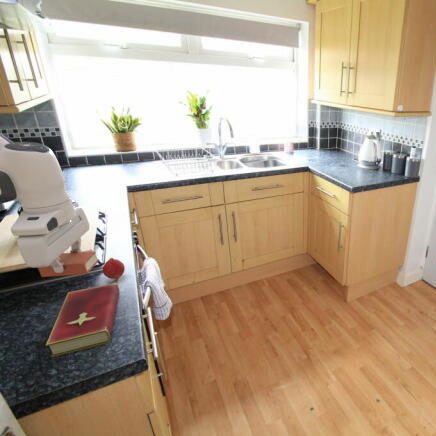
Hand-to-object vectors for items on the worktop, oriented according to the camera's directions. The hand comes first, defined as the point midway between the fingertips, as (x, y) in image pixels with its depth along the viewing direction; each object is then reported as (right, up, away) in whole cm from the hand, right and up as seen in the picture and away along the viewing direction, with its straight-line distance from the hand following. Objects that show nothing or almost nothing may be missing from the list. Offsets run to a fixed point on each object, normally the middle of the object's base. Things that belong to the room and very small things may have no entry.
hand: (69, 262), depth 80 cm
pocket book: (0, -2, +1) cm, 2 cm away
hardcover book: (+2, -17, +5) cm, 18 cm away
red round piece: (-3, -8, +23) cm, 25 cm away
